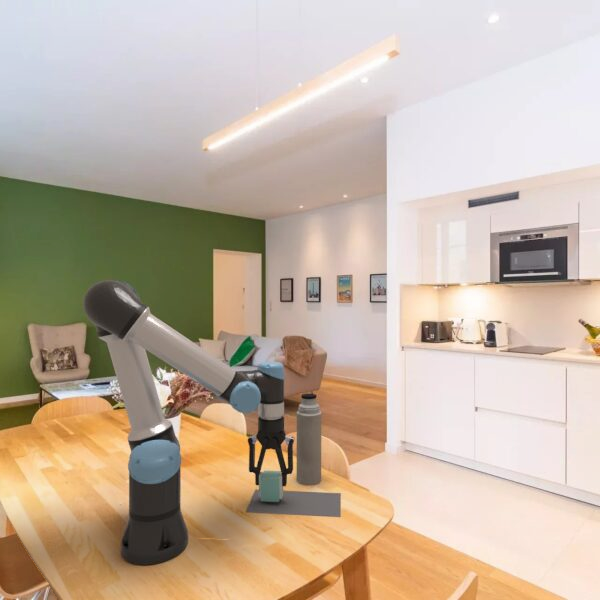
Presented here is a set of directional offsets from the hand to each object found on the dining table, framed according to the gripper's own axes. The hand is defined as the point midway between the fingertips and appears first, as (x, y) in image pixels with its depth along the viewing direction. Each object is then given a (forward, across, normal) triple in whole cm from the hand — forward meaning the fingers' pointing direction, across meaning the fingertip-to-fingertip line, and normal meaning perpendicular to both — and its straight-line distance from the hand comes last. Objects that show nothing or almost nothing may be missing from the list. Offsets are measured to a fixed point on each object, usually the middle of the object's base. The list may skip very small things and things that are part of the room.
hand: (271, 496), depth 124 cm
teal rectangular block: (0, 0, 0) cm, 0 cm away
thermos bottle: (+2, -10, -15) cm, 18 cm away
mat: (+2, -7, 0) cm, 7 cm away
